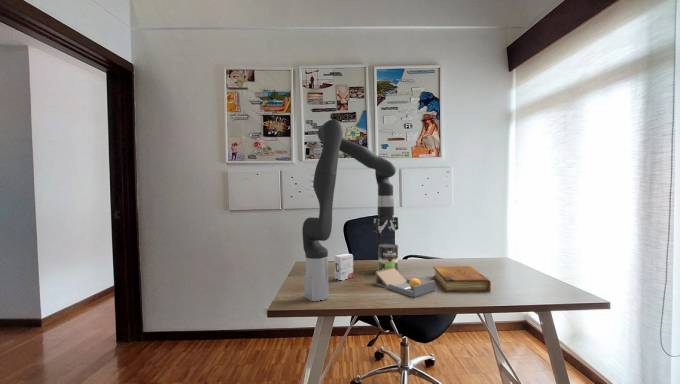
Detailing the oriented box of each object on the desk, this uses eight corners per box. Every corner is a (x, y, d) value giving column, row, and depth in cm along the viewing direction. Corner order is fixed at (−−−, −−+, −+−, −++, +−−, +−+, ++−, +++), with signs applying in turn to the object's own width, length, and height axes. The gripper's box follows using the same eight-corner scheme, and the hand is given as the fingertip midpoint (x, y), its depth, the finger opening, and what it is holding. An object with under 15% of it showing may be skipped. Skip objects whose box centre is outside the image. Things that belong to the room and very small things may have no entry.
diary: (490, 293, 140) (490, 279, 140) (446, 293, 141) (446, 279, 141) (471, 277, 163) (471, 265, 163) (433, 277, 164) (433, 265, 164)
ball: (405, 287, 144) (408, 277, 142) (413, 285, 147) (415, 275, 145) (414, 293, 140) (417, 283, 138) (421, 291, 143) (424, 280, 142)
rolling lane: (415, 298, 134) (414, 283, 134) (374, 285, 153) (374, 271, 153) (434, 291, 142) (434, 277, 142) (394, 279, 161) (394, 266, 161)
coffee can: (400, 274, 168) (399, 247, 168) (380, 275, 168) (379, 247, 168) (396, 269, 179) (395, 243, 178) (377, 269, 178) (376, 243, 178)
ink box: (347, 275, 168) (347, 252, 167) (354, 278, 164) (353, 254, 163) (334, 279, 162) (333, 255, 162) (340, 281, 158) (340, 257, 158)
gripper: (390, 204, 160) (390, 237, 161) (368, 205, 152) (369, 240, 152) (402, 205, 154) (402, 239, 155) (379, 206, 146) (380, 242, 146)
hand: (385, 240), depth 153 cm, fingers open, 8 cm apart
